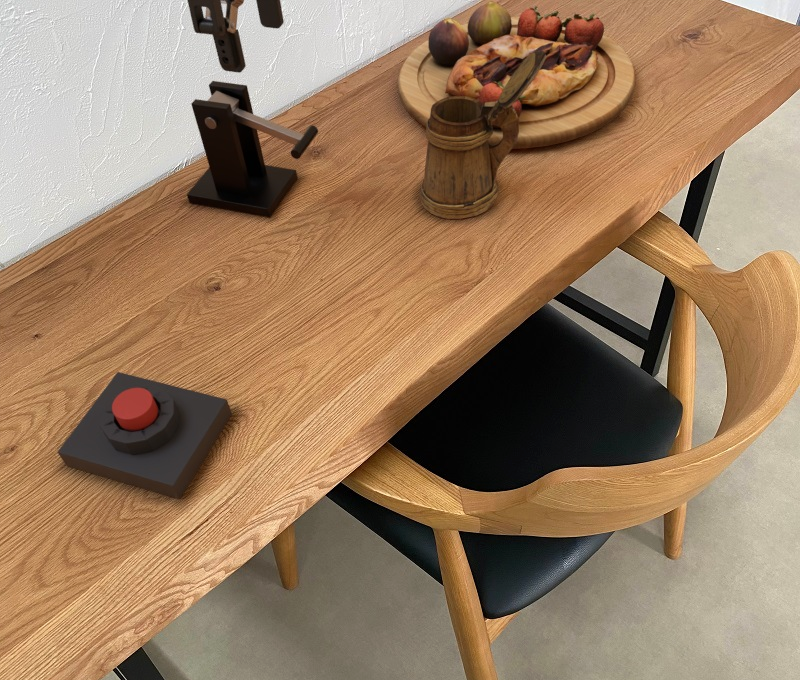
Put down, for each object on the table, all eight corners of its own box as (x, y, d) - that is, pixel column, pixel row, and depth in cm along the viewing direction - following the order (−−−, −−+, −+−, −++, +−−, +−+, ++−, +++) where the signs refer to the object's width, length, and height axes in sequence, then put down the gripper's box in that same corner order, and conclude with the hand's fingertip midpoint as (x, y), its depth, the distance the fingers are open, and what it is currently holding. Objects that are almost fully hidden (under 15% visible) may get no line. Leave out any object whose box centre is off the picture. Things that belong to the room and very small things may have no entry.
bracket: (298, 178, 99) (279, 81, 89) (270, 217, 94) (247, 120, 84) (220, 165, 102) (193, 70, 92) (189, 203, 97) (158, 107, 87)
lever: (317, 140, 91) (319, 123, 89) (299, 165, 88) (301, 147, 87) (222, 102, 92) (222, 83, 90) (201, 125, 89) (200, 107, 87)
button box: (66, 466, 73) (48, 440, 70) (125, 386, 79) (111, 359, 75) (180, 499, 70) (166, 474, 67) (232, 413, 75) (222, 386, 72)
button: (110, 425, 71) (103, 413, 69) (132, 395, 73) (125, 383, 71) (145, 435, 70) (138, 423, 68) (165, 404, 72) (160, 392, 70)
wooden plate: (579, 180, 95) (587, 117, 89) (354, 119, 106) (347, 60, 100) (666, 55, 112) (678, -5, 105) (463, 15, 123) (463, -42, 117)
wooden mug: (531, 225, 90) (543, 75, 76) (414, 216, 93) (405, 69, 79) (538, 178, 96) (550, 30, 82) (427, 171, 98) (421, 26, 84)
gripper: (213, -182, 68) (251, 9, 81) (125, -122, 60) (183, 81, 72) (292, -179, 66) (319, 17, 79) (214, -117, 58) (257, 91, 71)
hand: (254, 47), depth 76 cm, fingers open, 8 cm apart
